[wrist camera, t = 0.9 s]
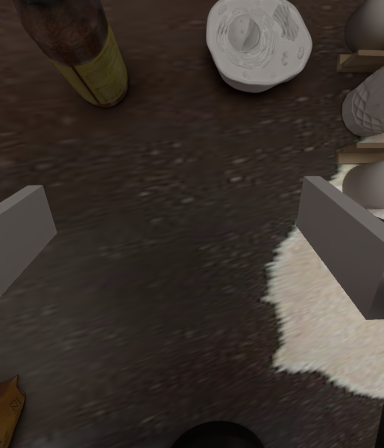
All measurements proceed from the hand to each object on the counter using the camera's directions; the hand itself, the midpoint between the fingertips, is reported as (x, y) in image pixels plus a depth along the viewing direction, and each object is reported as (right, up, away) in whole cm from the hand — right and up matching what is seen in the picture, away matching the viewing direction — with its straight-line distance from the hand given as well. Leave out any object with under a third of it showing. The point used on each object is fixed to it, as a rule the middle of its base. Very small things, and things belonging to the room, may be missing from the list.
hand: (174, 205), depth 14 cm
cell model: (+8, +20, +21) cm, 30 cm away
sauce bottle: (-10, +16, +19) cm, 27 cm away
